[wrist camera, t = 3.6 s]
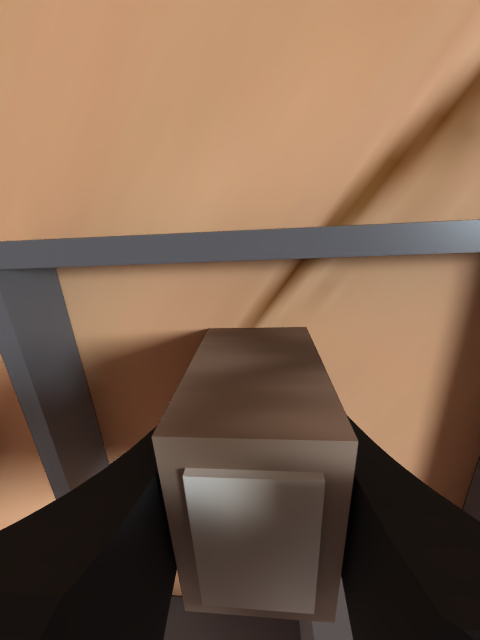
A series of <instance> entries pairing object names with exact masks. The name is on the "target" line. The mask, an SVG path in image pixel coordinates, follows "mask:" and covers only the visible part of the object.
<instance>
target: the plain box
mask: <svg viewBox="0 0 480 640" xmlns="http://www.w3.org/2000/svg"><path fill="white" fill-rule="evenodd" d="M299 625H300V636H301V640H353V637H352V631H351V626H350V621H349V615H348V610H347V604H346V599H345V594H344V588H343V583H342V578H340V586H339V593H338V601H337V609H336V616H335V623H327V622H315V621H303V620H299Z"/></svg>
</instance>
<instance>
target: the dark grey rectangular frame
mask: <svg viewBox="0 0 480 640" xmlns="http://www.w3.org/2000/svg"><path fill="white" fill-rule="evenodd" d="M471 252H480V219H478V220H457V221H435V222H413V223H391V224H369V225H348V226H326V227H304V228H282V229H260V230H239V231H217V232H195V233H173V234H152V235H130V236H108V237H86V238H64V239H43V240H22V241H2V242H0V353H1V355H2V358H3V361H4V363H5V366H6V369H7V371H8V374H9V377H10V379H11V382H12V385H13V387H14V390H15V392H16V395H17V398H18V400H19V403H20V406H21V408H22V411H23V414H24V416H25V419H26V421H27V424H28V427H29V429H30V432H31V435H32V437H33V440H34V443H35V445H36V448H37V450H38V453H39V456H40V458H41V461H42V464H43V466H44V469H45V472H46V474H47V477H48V480H49V482H50V485H51V487H52V490H53V493H54V495H55V498H56V500H57V499H58V498H60V497H62V496H63V495H65V494H67V493H68V492H70V491H71V490H73V489H74V488H76V487H78V486H79V485H81V484H82V483H84V482H85V481H87V480H88V479H90V478H91V477H93V476H94V475H96V474H97V473H99V472H100V471H102V470H103V469H105V468H106V467H107V466H109V463H108V459H107V456H106V452H105V448H104V445H103V441H102V437H101V434H100V430H99V426H98V423H97V419H96V415H95V411H94V408H93V404H92V400H91V397H90V393H89V389H88V386H87V382H86V378H85V375H84V371H83V367H82V364H81V360H80V356H79V352H78V349H77V345H76V341H75V338H74V334H73V330H72V327H71V323H70V319H69V316H68V312H67V308H66V304H65V301H64V297H63V293H62V290H61V286H60V282H59V279H58V275H57V271H56V268H55V267H80V266H108V265H136V264H164V263H192V262H219V261H247V260H275V259H303V258H331V257H359V256H387V255H415V254H443V253H471ZM463 511H465V512H466V513H468V514H469V515H471V516H472V517H474V518H475V519H477V520H478V521H480V459H479V462H478V465H477V468H476V471H475V474H474V477H473V480H472V483H471V486H470V489H469V492H468V495H467V498H466V501H465V504H464V507H463ZM164 640H301V636H300V625H299V620H291V619H278V618H266V617H254V616H242V615H230V614H218V613H206V612H193V611H185V607H184V602H183V597H177V596H172V597H171V602H170V607H169V612H168V618H167V623H166V629H165V634H164Z"/></svg>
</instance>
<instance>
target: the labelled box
mask: <svg viewBox="0 0 480 640" xmlns="http://www.w3.org/2000/svg"><path fill="white" fill-rule="evenodd" d="M152 441H153V446H154V451H155V457H156V462H157V467H158V472H159V477H160V483H161V488H162V493H163V498H164V503H165V509H166V514H167V519H168V524H169V529H170V535H171V540H172V545H173V550H174V555H175V561H176V566H177V571H178V576H179V581H180V587H181V592H182V597H183V602H184V607H185V611H193V612H206V613H218V614H230V615H242V616H254V617H266V618H278V619H291V620H303V621H315V622H327V623H335V616H336V609H337V601H338V593H339V586H340V578H341V570H342V563H343V555H344V548H345V540H346V532H347V525H348V517H349V509H350V502H351V494H352V487H353V479H354V471H355V464H356V456H357V448H358V439H357V437H356V435H355V433H354V431H353V428H352V426H351V424H350V422H349V420H348V417H347V415H346V413H345V411H344V409H343V406H342V404H341V402H340V400H339V398H338V395H337V393H336V391H335V389H334V387H333V384H332V382H331V380H330V378H329V376H328V374H327V371H326V369H325V367H324V365H323V363H322V360H321V358H320V356H319V354H318V352H317V349H316V347H315V345H314V343H313V341H312V338H311V336H310V334H309V332H308V330H307V327H294V328H219V329H208V331H207V332H206V334H205V336H204V338H203V340H202V342H201V344H200V346H199V348H198V350H197V351H196V353H195V355H194V357H193V359H192V361H191V363H190V365H189V367H188V368H187V370H186V372H185V374H184V376H183V378H182V380H181V382H180V384H179V386H178V387H177V389H176V391H175V393H174V395H173V397H172V399H171V401H170V403H169V405H168V406H167V408H166V410H165V412H164V414H163V416H162V418H161V420H160V422H159V423H158V425H157V427H156V429H155V431H154V433H153V435H152Z"/></svg>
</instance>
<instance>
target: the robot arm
mask: <svg viewBox="0 0 480 640" xmlns="http://www.w3.org/2000/svg"><path fill="white" fill-rule="evenodd" d="M347 417H348V416H347ZM348 420H349V422H350V424H351V426H352V428H353V431H354V433H355V435H356V437H357V439H358V448H357V456H356V464H355V471H354V479H353V487H352V494H351V502H350V509H349V517H348V525H347V532H346V540H345V548H344V555H343V563H342V570H341V578H342V583H343V588H344V594H345V599H346V604H347V610H348V615H349V621H350V626H351V631H352V637H353V640H480V521H478V520H477V519H475V518H474V517H472V516H471V515H469V514H468V513H466V512H465V511H463V510H462V509H460V508H459V507H457V506H456V505H454V504H453V503H451V502H450V501H449V500H447V499H446V498H444V497H443V496H441V495H440V494H438V493H437V492H436V491H434V490H433V489H431V488H430V487H429V486H427V485H426V484H425V483H423V482H422V481H421V480H419V479H418V478H417V477H415V476H414V475H413V474H412V473H410V472H409V471H408V470H406V469H405V468H404V467H403V466H401V465H400V464H399V463H398V462H396V461H395V460H394V459H393V458H392V457H390V456H389V455H388V454H387V453H386V452H385V451H384V450H382V449H381V448H380V447H379V446H378V445H377V444H376V443H375V442H374V441H372V440H371V439H370V438H369V437H368V436H367V435H366V434H365V433H364V432H363V431H362V430H361V429H360V428H359V427H358V426H357V425H356V424H355V423H354V422H353V421H352V420H351V419H350V418H349V417H348ZM156 427H157V426H156ZM156 427H155V428H154V429H153V430H152V431H151V432H149V433H148V434H147V435H146V436H145V437H144V438H143V439H142V440H140V441H139V442H138V443H137V444H136V445H135V446H133V447H132V448H131V449H130V450H128V451H127V452H126V453H125V454H123V455H122V456H121V457H119V458H118V459H117V460H115V461H114V462H113V463H111V464H110V465H109V466H107V467H106V468H105V469H103V470H102V471H100V472H99V473H97V474H96V475H94V476H93V477H91V478H90V479H88V480H87V481H85V482H84V483H82V484H81V485H79V486H78V487H76V488H74V489H73V490H71V491H70V492H68V493H67V494H65V495H63V496H62V497H60V498H58V499H57V500H55V501H53V502H52V503H50V504H48V505H46V506H45V507H43V508H41V509H39V510H38V511H36V512H34V513H32V514H31V515H29V516H27V517H25V518H23V519H21V520H20V521H18V522H16V523H14V524H12V525H10V526H8V527H6V528H4V529H2V530H0V640H164V634H165V629H166V623H167V618H168V612H169V607H170V602H171V597H172V592H173V586H174V581H175V576H176V571H177V566H176V561H175V555H174V550H173V545H172V540H171V535H170V529H169V524H168V519H167V514H166V509H165V503H164V498H163V493H162V488H161V483H160V477H159V472H158V467H157V462H156V457H155V451H154V446H153V441H152V435H153V433H154V431H155V429H156Z"/></svg>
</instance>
